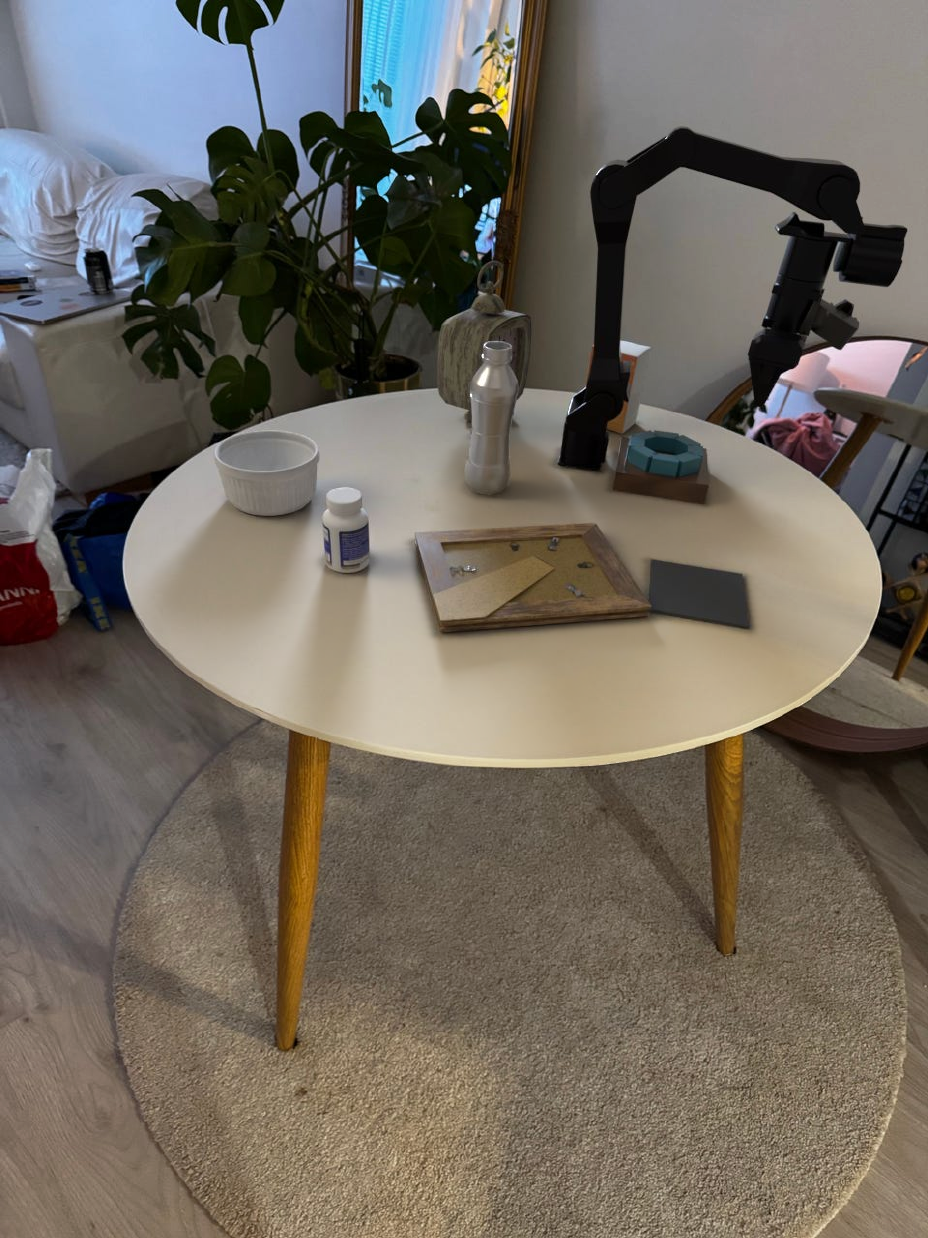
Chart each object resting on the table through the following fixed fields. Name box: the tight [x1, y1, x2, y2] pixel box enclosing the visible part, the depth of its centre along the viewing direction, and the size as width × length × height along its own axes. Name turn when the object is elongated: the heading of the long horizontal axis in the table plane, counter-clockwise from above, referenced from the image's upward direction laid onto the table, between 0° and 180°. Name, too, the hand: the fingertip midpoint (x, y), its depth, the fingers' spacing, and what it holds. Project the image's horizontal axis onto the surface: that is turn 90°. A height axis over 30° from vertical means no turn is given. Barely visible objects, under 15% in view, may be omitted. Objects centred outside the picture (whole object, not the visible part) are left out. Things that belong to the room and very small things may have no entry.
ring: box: [626, 429, 704, 476], centre depth 111 cm, size 11×11×2 cm
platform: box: [612, 436, 710, 505], centre depth 112 cm, size 13×13×3 cm
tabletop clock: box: [436, 260, 532, 435], centre depth 119 cm, size 14×9×25 cm, turn 147°
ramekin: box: [213, 429, 320, 517], centre depth 99 cm, size 13×13×7 cm
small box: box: [584, 340, 652, 435], centre depth 125 cm, size 8×6×13 cm
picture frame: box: [414, 522, 651, 633], centre depth 89 cm, size 19×2×24 cm
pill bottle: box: [321, 486, 371, 574], centre depth 87 cm, size 5×5×9 cm
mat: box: [648, 558, 750, 630], centre depth 88 cm, size 11×11×1 cm
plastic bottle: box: [463, 341, 519, 495], centre depth 101 cm, size 6×7×20 cm
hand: (763, 396), depth 105 cm, fingers open, 9 cm apart
